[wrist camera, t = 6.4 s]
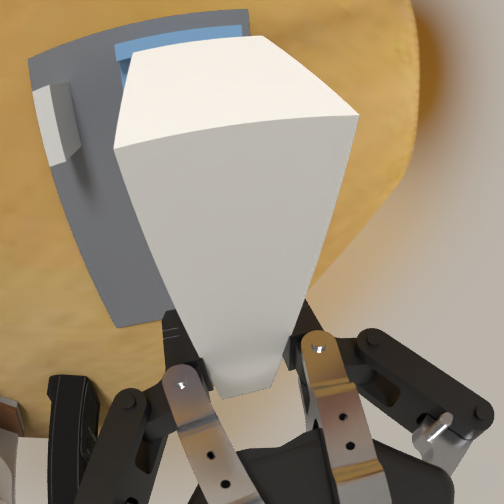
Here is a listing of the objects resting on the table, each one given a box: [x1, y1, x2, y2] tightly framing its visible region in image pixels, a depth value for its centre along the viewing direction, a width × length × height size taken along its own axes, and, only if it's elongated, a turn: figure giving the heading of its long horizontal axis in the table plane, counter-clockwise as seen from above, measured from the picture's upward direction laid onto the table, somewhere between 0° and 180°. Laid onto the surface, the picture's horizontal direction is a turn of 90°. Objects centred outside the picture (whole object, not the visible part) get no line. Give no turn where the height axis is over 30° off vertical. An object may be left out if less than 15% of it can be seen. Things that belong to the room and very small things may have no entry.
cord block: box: [114, 36, 359, 399], centre depth 12 cm, size 3×18×4 cm, turn 4°
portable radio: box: [47, 375, 100, 504], centre depth 23 cm, size 8×6×25 cm
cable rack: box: [28, 9, 250, 328], centre depth 20 cm, size 16×26×6 cm, turn 4°
